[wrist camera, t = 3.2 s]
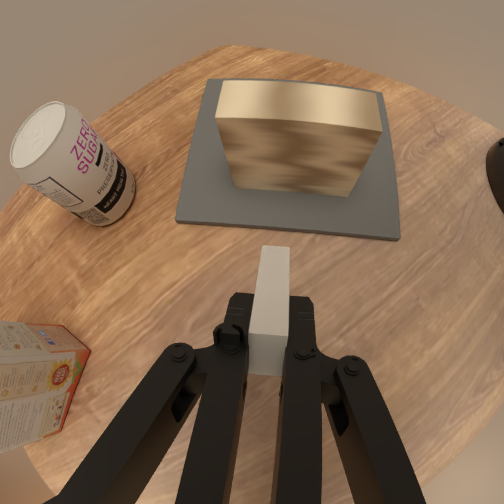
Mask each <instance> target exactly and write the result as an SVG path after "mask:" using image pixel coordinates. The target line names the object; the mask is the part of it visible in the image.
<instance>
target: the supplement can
mask: <svg viewBox="0 0 504 504" xmlns="http://www.w3.org/2000/svg"><path fill="white" fill-rule="evenodd" d="M10 161H11V164H12V165H13V166H14V169H15V172H16V174H17V177H18V178H20V179H21V180H22V181H23V182H25V183H26V184H28V185H29V186H31V187H32V188H34V189H35V190H37V191H38V192H40V193H41V194H43V195H45V196H46V197H48V198H49V199H51V200H52V201H54V202H56V203H57V204H59V205H60V206H62V207H63V208H65V209H67V210H68V211H70V212H72V213H73V214H75V215H76V216H78V217H80V218H81V219H83V220H85V221H86V222H88V223H90V224H91V225H95V226H104V225H108V224H111V223H113V222H114V221H116V220H117V219H118V218H120V217H121V216H122V215H123V214H124V212H125V211H126V210H127V209H128V208H129V206H130V203H131V201H132V199H133V197H134V191H135V181H134V176H133V175H132V173H131V172H130V171H129V169H128V168H127V167H126V166H125V165H124V164H123V162H122V161H121V160H120V159H119V158H118V157H117V156H116V154H115V153H114V152H113V151H112V150H111V149H110V148H109V146H108V145H107V144H106V143H105V142H104V141H103V140H102V138H101V137H100V136H99V135H98V134H97V133H96V131H95V130H94V129H93V128H92V127H91V126H90V124H89V123H88V122H87V121H86V120H85V118H84V117H83V116H82V115H81V114H80V113H79V111H77V109H76V108H75V107H72V106H69V105H65V104H63V103H61V102H58V101H54V102H50V103H47V104H45V105H43V106H42V107H40V108H38V109H37V110H36V111H35V112H34V113H33V114H31V115H30V116H29V117H28V118H27V120H26V121H25V122H24V123H23V124H22V126H21V127H20V129H19V131H18V132H17V134H16V136H15V138H14V140H13V143H12V146H11V151H10Z"/></svg>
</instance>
